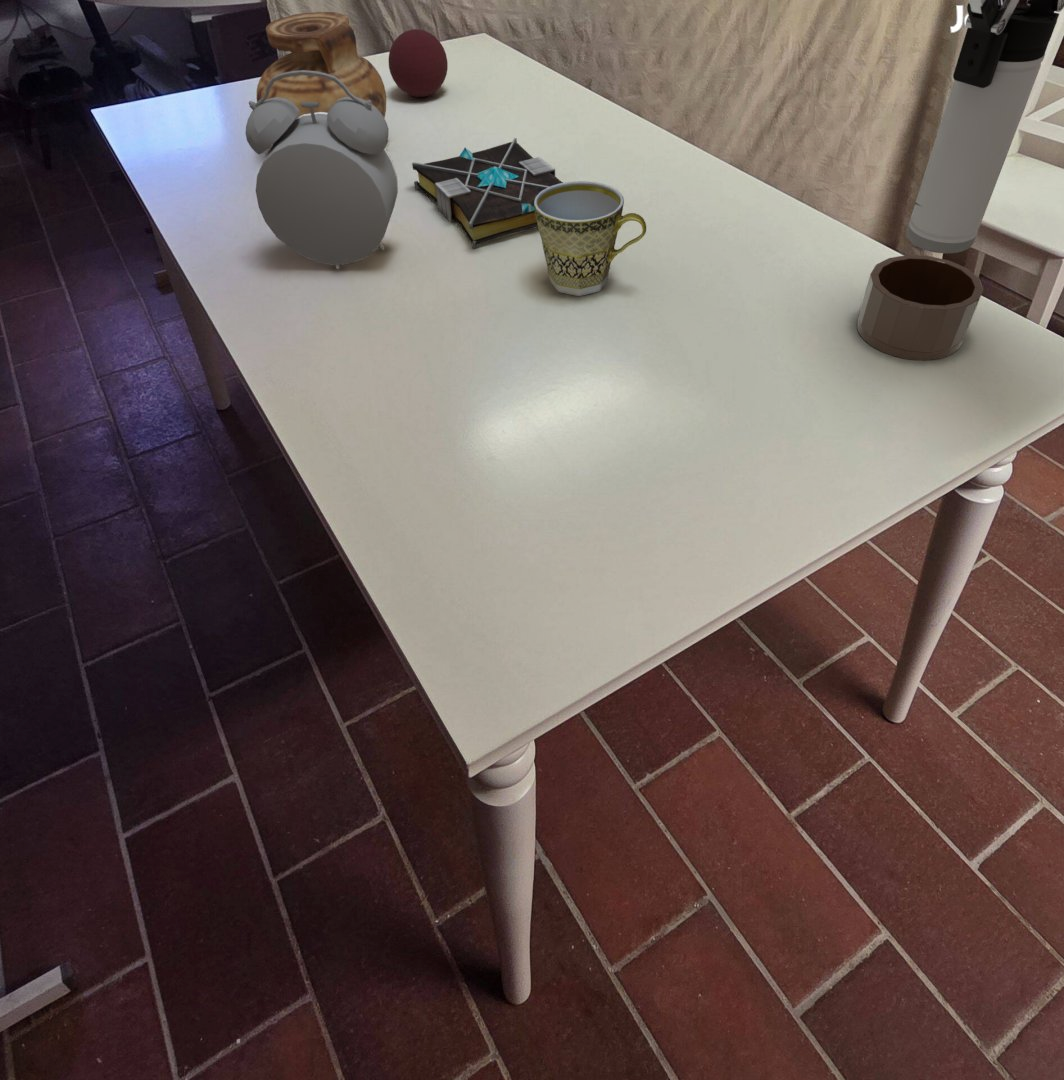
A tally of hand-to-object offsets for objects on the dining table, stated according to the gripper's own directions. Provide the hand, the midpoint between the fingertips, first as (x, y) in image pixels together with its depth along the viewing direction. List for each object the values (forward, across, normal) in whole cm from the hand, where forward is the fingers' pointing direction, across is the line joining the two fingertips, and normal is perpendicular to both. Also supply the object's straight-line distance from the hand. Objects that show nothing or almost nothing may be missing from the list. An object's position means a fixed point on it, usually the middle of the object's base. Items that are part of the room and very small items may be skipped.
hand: (996, 70), depth 70 cm
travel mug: (+15, 0, 0) cm, 15 cm away
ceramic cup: (+26, -20, +30) cm, 44 cm away
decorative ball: (+26, -2, +98) cm, 101 cm away
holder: (+26, 0, 0) cm, 26 cm away
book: (+26, -16, +55) cm, 63 cm away
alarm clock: (+26, -40, +55) cm, 73 cm away
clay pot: (+26, -24, +87) cm, 94 cm away
